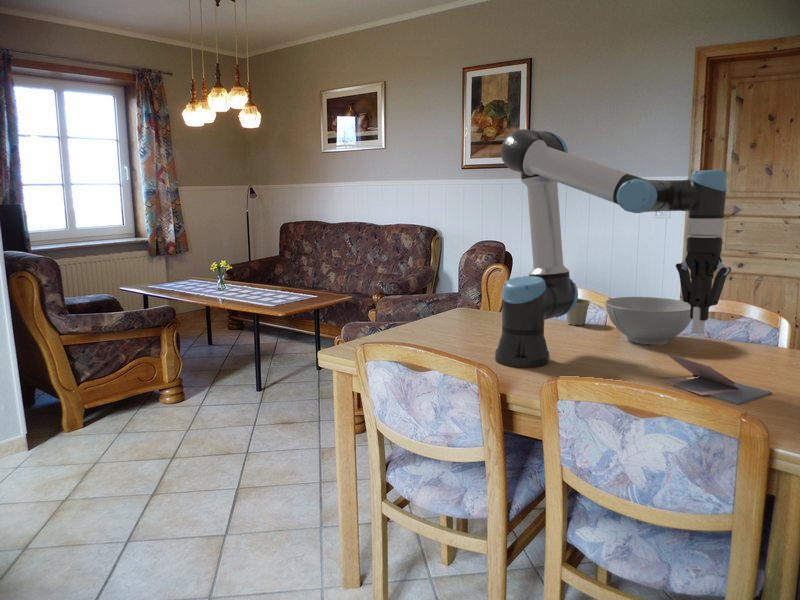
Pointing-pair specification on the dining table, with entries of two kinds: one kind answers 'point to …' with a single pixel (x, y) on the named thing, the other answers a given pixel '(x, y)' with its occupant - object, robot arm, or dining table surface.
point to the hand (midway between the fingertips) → (697, 332)
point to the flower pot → (578, 312)
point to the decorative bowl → (649, 318)
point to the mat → (732, 397)
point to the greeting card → (701, 375)
